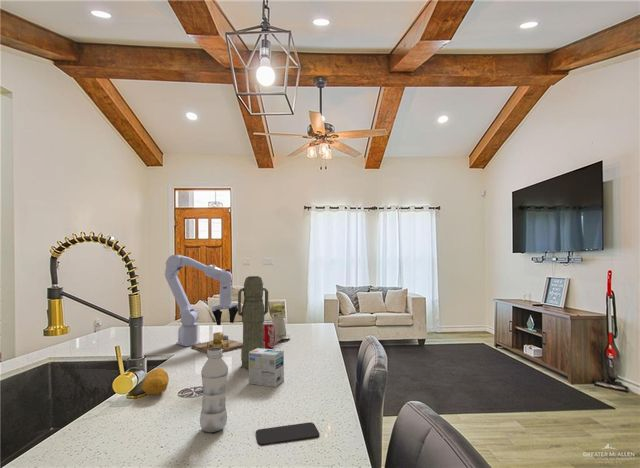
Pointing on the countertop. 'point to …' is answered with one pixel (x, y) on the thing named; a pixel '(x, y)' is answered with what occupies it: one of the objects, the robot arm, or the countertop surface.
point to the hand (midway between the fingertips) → (225, 323)
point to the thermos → (252, 316)
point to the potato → (155, 381)
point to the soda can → (268, 335)
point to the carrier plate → (232, 346)
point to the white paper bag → (279, 321)
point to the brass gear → (218, 341)
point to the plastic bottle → (214, 392)
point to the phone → (286, 433)
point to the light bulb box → (266, 367)
